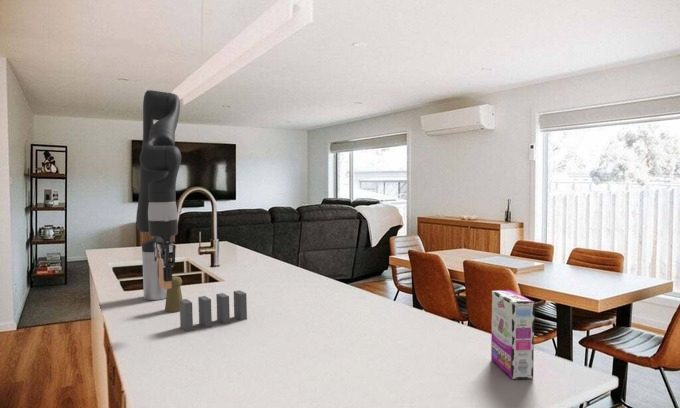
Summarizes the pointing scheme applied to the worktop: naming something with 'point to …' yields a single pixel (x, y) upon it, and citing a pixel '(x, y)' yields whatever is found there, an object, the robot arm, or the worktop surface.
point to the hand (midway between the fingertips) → (165, 279)
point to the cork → (174, 296)
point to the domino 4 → (240, 305)
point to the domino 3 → (223, 308)
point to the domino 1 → (186, 315)
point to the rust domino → (161, 282)
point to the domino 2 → (205, 311)
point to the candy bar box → (512, 334)
